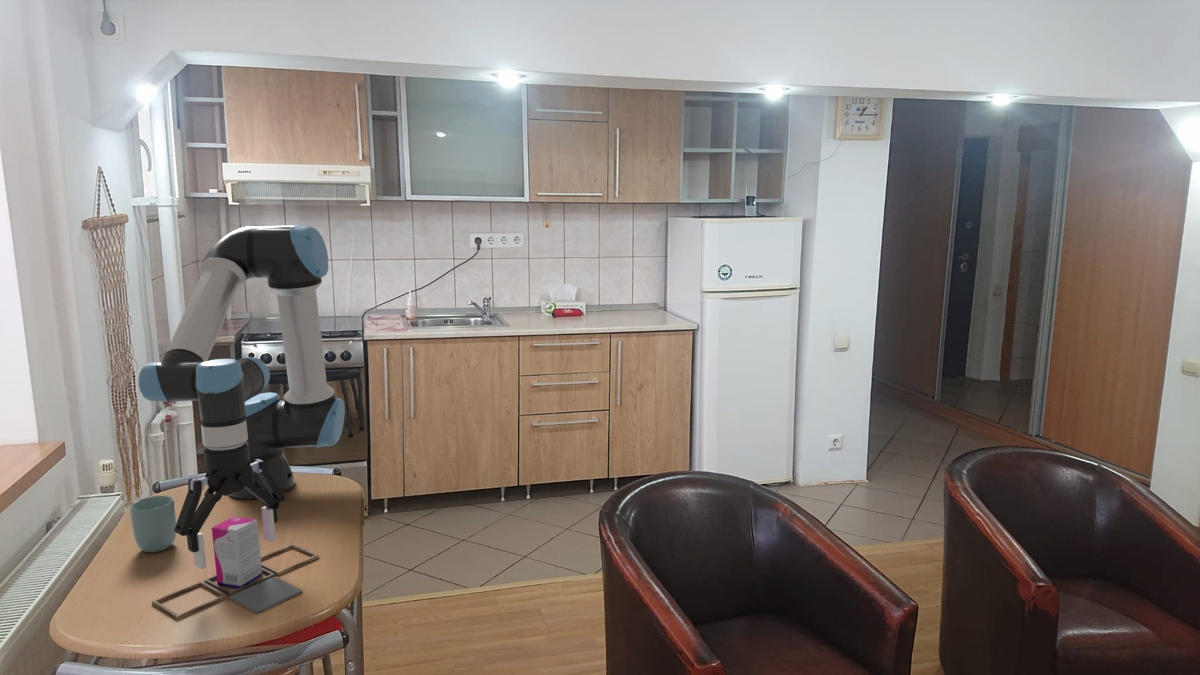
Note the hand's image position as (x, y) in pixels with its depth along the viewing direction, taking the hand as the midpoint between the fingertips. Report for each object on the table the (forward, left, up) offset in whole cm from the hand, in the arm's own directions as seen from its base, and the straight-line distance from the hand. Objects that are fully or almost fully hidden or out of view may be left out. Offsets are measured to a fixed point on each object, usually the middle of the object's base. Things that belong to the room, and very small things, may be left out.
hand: (236, 553), depth 147 cm
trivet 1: (+9, 0, -6) cm, 11 cm away
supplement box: (0, 0, -6) cm, 6 cm away
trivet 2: (-10, 0, -6) cm, 11 cm away
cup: (+2, -27, -6) cm, 28 cm away
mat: (0, +9, -6) cm, 11 cm away
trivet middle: (0, 0, -6) cm, 6 cm away
